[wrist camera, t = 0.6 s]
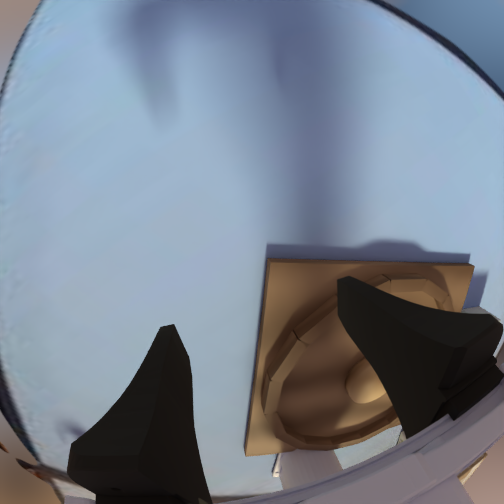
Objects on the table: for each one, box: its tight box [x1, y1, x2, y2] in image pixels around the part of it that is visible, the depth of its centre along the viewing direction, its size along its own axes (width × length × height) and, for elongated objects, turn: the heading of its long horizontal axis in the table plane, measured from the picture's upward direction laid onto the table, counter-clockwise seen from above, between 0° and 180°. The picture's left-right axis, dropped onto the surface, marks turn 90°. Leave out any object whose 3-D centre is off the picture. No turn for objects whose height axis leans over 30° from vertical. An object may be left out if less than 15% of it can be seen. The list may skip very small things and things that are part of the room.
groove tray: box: [244, 258, 475, 456], centre depth 27 cm, size 25×25×2 cm
